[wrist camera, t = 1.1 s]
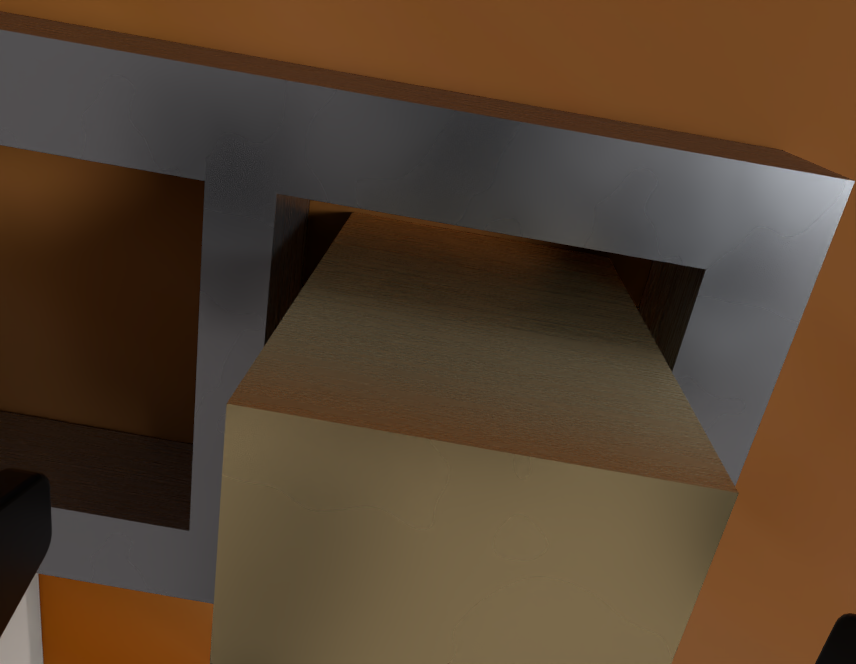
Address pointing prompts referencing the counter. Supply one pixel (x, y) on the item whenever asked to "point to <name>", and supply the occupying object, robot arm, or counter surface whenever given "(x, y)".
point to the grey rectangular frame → (395, 194)
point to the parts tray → (24, 631)
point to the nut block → (461, 465)
